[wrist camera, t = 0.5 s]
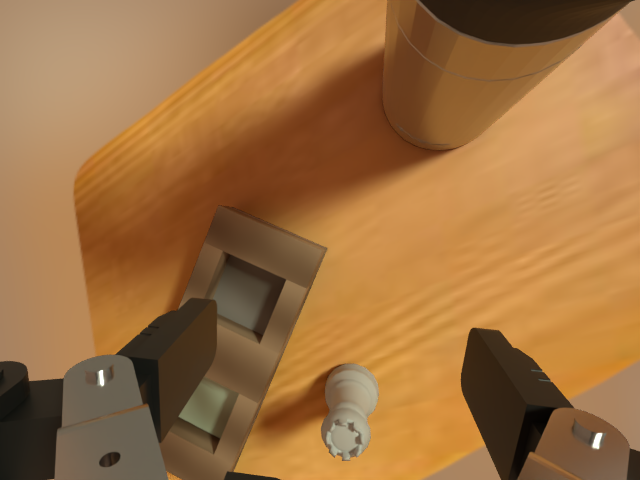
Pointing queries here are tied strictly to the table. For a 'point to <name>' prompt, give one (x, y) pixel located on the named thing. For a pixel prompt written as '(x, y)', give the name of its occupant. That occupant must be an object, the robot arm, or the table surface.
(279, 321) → the slot rail
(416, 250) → the table surface
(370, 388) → the rook chess piece
